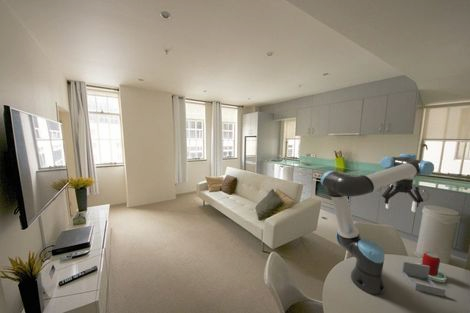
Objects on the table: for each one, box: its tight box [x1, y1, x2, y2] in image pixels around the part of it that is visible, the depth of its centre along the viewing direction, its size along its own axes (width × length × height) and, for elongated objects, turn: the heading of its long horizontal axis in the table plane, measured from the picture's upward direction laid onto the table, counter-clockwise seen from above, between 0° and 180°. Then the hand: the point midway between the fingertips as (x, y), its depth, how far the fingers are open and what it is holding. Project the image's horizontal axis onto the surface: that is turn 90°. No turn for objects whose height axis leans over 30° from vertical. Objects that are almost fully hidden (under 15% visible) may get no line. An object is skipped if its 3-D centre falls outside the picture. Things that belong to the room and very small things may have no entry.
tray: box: [415, 262, 447, 283], centre depth 105 cm, size 13×13×2 cm
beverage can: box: [421, 251, 441, 276], centre depth 105 cm, size 7×7×12 cm
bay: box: [400, 260, 446, 297], centre depth 97 cm, size 12×12×8 cm
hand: (400, 210), depth 110 cm, fingers open, 13 cm apart
